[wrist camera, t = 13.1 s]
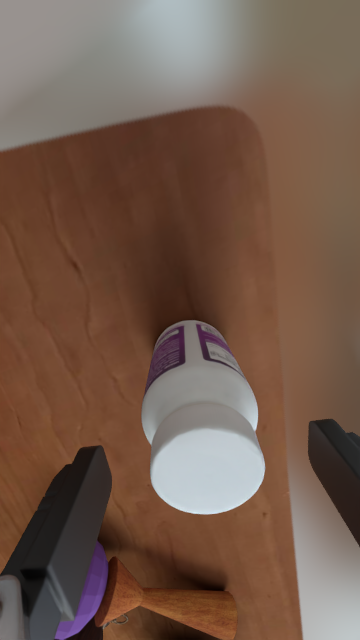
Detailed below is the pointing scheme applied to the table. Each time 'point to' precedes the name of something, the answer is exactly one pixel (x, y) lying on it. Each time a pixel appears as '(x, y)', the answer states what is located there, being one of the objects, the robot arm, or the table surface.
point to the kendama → (147, 601)
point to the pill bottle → (200, 422)
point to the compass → (92, 630)
